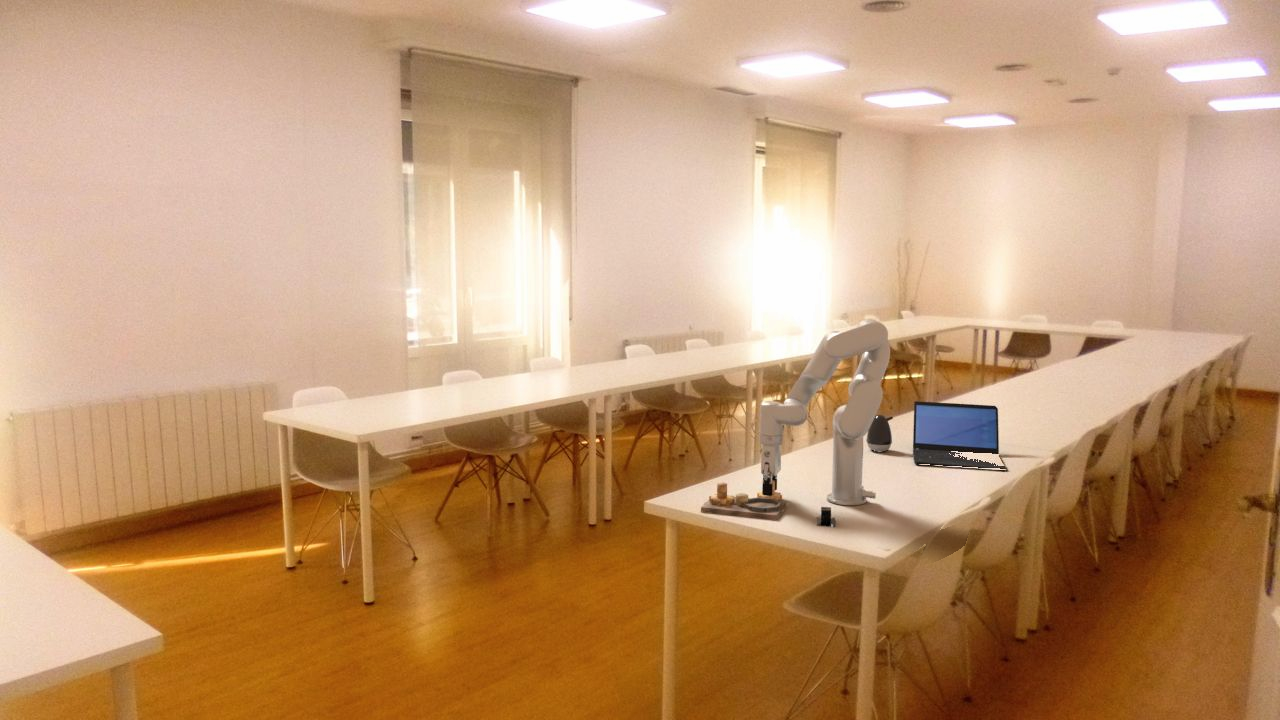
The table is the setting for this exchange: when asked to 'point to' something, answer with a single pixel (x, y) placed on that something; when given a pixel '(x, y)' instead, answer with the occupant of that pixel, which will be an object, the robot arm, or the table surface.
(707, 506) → the carrier
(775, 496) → the gear
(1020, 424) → the table surface
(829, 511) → the black slotted bracket
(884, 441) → the pump dispenser
